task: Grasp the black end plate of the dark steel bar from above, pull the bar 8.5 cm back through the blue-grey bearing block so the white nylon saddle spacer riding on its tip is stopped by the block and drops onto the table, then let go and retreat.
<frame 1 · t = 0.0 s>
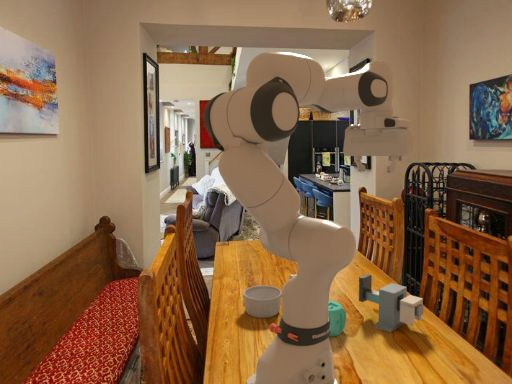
hand: (375, 172, 109), 48 cm above the table, fingers open, 8 cm apart
ramekin: (262, 312, 130), on the table
spacer: (410, 320, 114), point 3 cm above the table, touching shaft
shaft: (390, 295, 119), point 9 cm above the table, slide at 0.0 cm, touching spacer
syrup box: (301, 319, 124), on the table
decorative dice: (328, 331, 116), on the table
bearing block: (392, 323, 119), on the table
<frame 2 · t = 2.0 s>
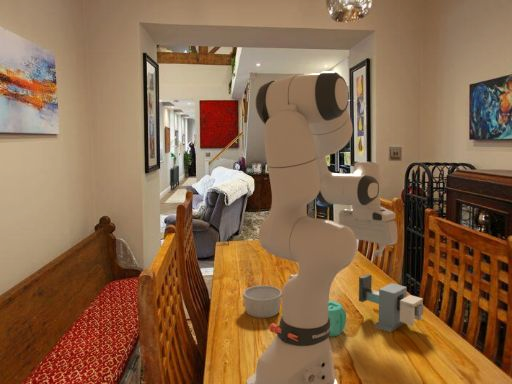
hand: (365, 253, 124), 21 cm above the table, fingers open, 8 cm apart
nothing on the table moved.
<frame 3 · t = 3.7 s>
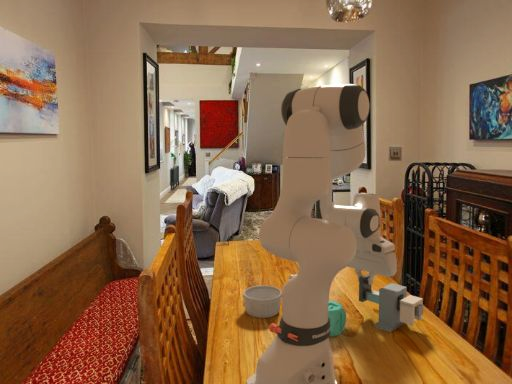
hand: (365, 283, 125), 11 cm above the table, fingers closed on shaft, 2 cm apart
shaft: (390, 295, 119), point 9 cm above the table, slide at 0.0 cm, touching gripper, spacer
everything else where it was.
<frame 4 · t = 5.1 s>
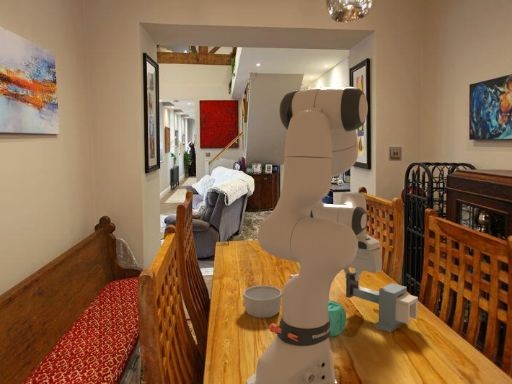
hand: (352, 279, 129), 11 cm above the table, fingers closed on shaft, 2 cm apart
spacer: (406, 318, 115), point 3 cm above the table, touching shaft
shaft: (376, 291, 122), point 9 cm above the table, slide at 5.0 cm, touching gripper, spacer
everything else where it was.
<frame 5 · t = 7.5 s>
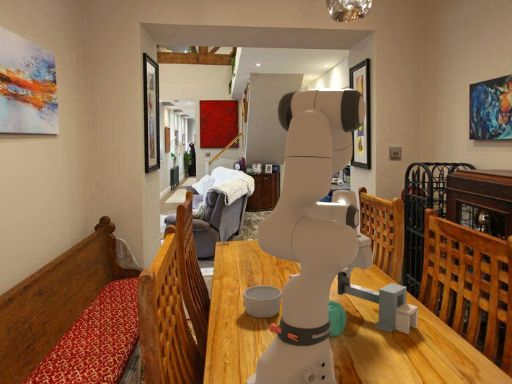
hand: (343, 276, 131), 11 cm above the table, fingers closed
spacer: (406, 328, 116), on the table
shaft: (366, 288, 125), point 9 cm above the table, slide at 8.5 cm
everything else where it was.
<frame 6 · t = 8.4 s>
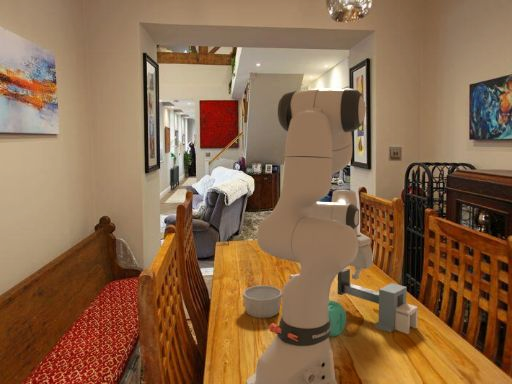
hand: (343, 275, 131), 11 cm above the table, fingers open, 8 cm apart
nothing on the table moved.
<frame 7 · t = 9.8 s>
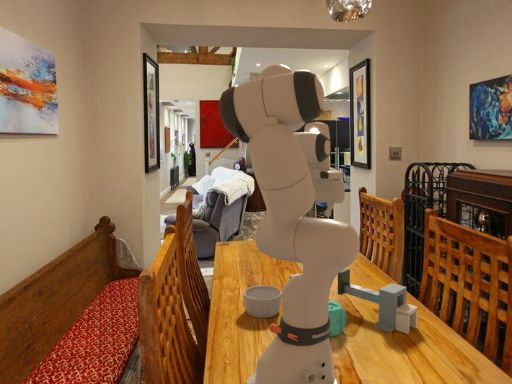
hand: (316, 214, 126), 33 cm above the table, fingers open, 8 cm apart
nothing on the table moved.
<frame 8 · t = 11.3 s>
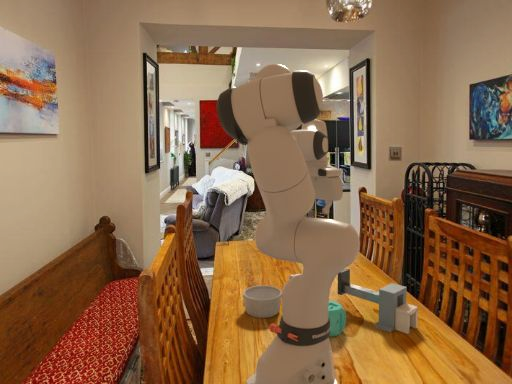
hand: (314, 212, 126), 34 cm above the table, fingers open, 8 cm apart
nothing on the table moved.
at the end: shaft slide at 8.5 cm; spacer touching table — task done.
